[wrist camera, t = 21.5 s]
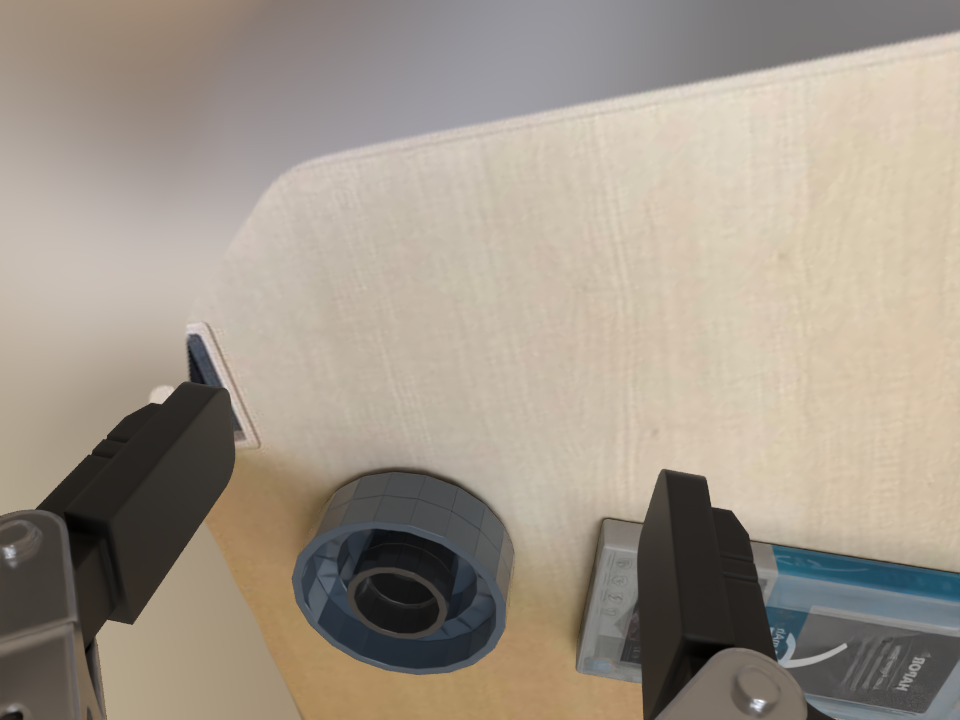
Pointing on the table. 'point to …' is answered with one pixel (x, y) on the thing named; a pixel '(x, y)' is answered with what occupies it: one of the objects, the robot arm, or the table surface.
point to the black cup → (402, 584)
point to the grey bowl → (428, 515)
